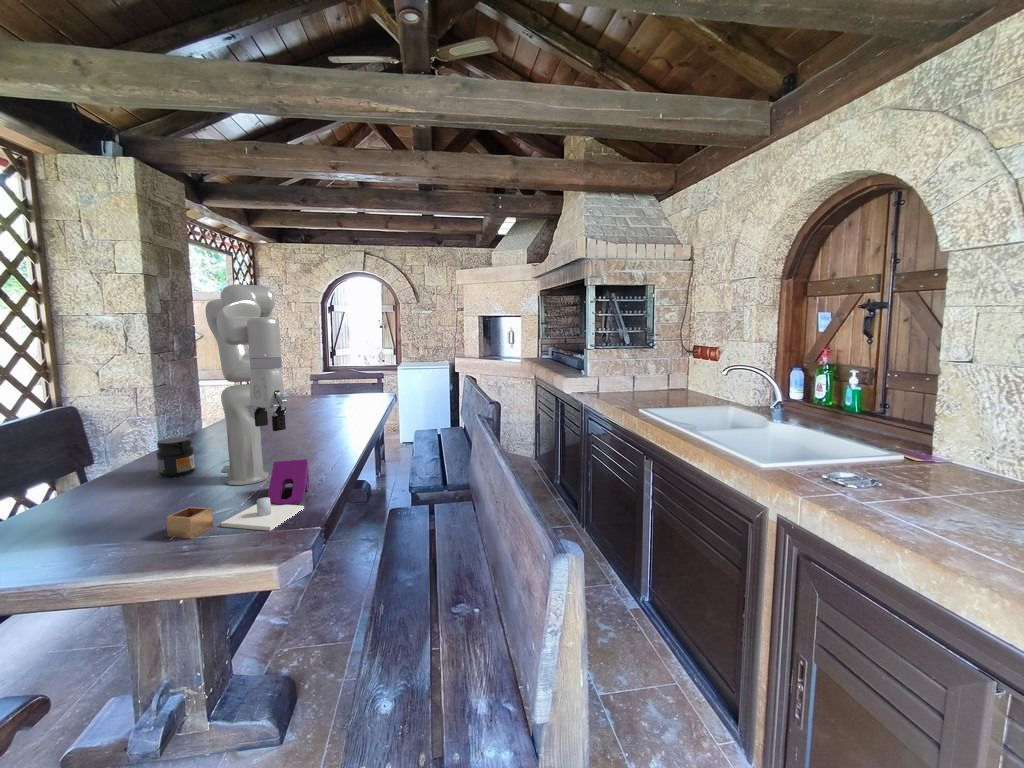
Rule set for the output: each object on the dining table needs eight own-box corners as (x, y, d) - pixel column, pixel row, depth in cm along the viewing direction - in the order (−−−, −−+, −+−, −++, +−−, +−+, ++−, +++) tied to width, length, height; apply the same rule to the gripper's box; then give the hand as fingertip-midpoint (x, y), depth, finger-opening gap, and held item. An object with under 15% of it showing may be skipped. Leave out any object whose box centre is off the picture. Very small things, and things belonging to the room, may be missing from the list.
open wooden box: (168, 536, 116) (166, 516, 115) (190, 525, 122) (189, 506, 121) (191, 538, 114) (189, 518, 114) (213, 527, 121) (211, 508, 120)
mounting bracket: (305, 522, 139) (309, 479, 153) (302, 501, 134) (307, 459, 149) (269, 526, 136) (277, 482, 150) (265, 505, 132) (273, 461, 146)
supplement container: (202, 472, 166) (199, 438, 164) (169, 480, 157) (165, 445, 155) (184, 467, 171) (182, 435, 169) (151, 476, 162) (148, 441, 160)
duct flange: (221, 526, 121) (219, 507, 121) (259, 505, 135) (258, 488, 134) (270, 530, 119) (269, 511, 118) (304, 509, 132) (303, 492, 132)
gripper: (236, 363, 128) (241, 426, 130) (267, 366, 118) (271, 434, 120) (264, 362, 134) (268, 422, 136) (296, 364, 123) (300, 429, 126)
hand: (270, 427), depth 128 cm, fingers open, 9 cm apart
